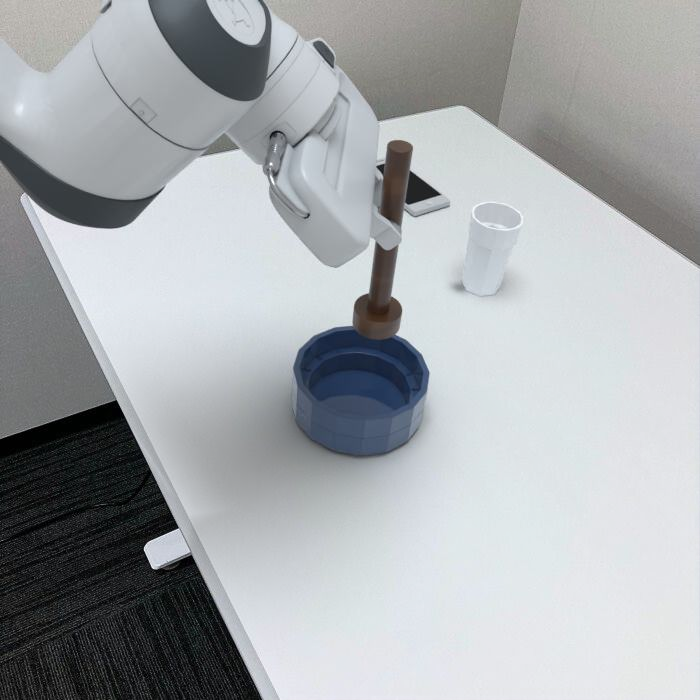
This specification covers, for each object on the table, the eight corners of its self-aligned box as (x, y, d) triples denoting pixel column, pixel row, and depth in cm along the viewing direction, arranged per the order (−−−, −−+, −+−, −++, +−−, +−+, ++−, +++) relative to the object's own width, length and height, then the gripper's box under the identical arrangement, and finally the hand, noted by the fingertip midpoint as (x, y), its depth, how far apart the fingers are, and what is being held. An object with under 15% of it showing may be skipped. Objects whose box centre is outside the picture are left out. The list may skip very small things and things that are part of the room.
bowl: (340, 479, 79) (345, 440, 75) (268, 392, 87) (268, 353, 83) (447, 424, 86) (456, 386, 82) (370, 348, 94) (375, 310, 90)
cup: (481, 264, 109) (498, 196, 101) (514, 289, 105) (534, 221, 98) (446, 278, 106) (460, 210, 98) (479, 305, 102) (497, 236, 95)
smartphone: (414, 216, 116) (415, 211, 116) (356, 169, 125) (357, 164, 125) (450, 205, 120) (451, 200, 119) (391, 160, 129) (392, 155, 128)
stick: (370, 346, 69) (394, 165, 57) (342, 318, 72) (360, 139, 59) (409, 329, 71) (440, 152, 59) (380, 303, 74) (405, 127, 62)
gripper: (295, 148, 49) (427, 287, 55) (325, 30, 64) (426, 150, 70) (226, 202, 52) (359, 328, 58) (270, 77, 67) (372, 188, 73)
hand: (396, 230), depth 64 cm, fingers closed on stick, 2 cm apart
